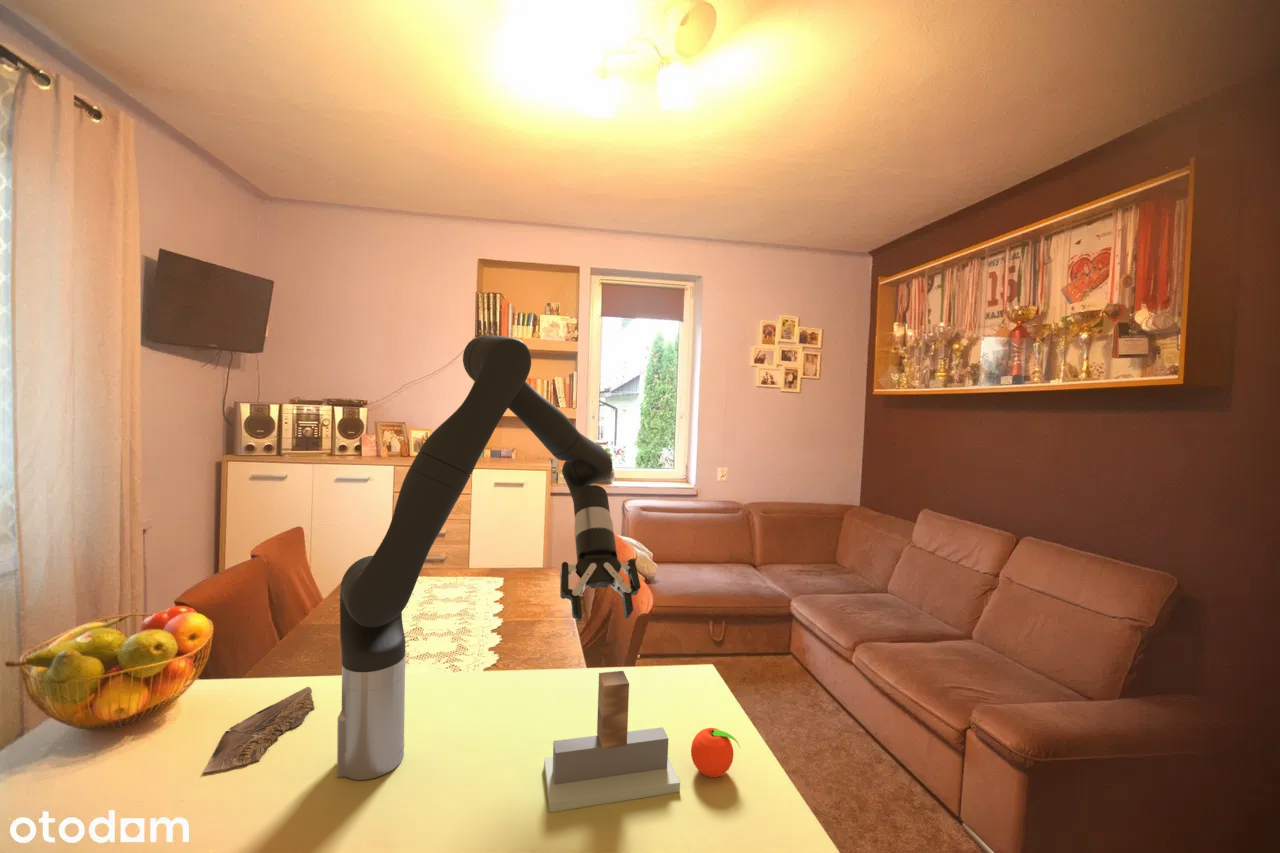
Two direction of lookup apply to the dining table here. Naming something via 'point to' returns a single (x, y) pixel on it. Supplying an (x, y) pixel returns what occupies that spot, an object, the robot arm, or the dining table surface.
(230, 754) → the wooden fragment
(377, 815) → the dining table surface
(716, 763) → the clementine
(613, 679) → the walnut post
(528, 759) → the dining table surface
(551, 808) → the ridge stand
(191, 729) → the dining table surface
